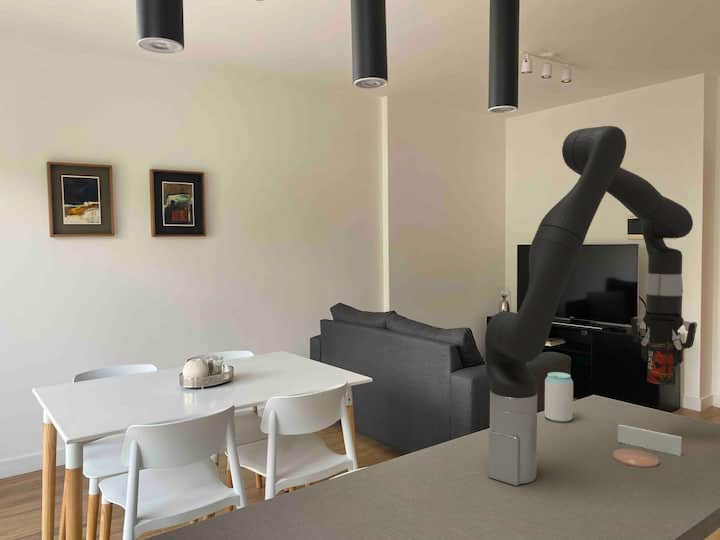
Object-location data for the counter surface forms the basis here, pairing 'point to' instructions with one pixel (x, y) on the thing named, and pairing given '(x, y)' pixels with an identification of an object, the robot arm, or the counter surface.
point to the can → (558, 397)
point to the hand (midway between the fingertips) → (661, 362)
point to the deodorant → (661, 352)
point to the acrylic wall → (650, 439)
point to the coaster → (636, 457)
